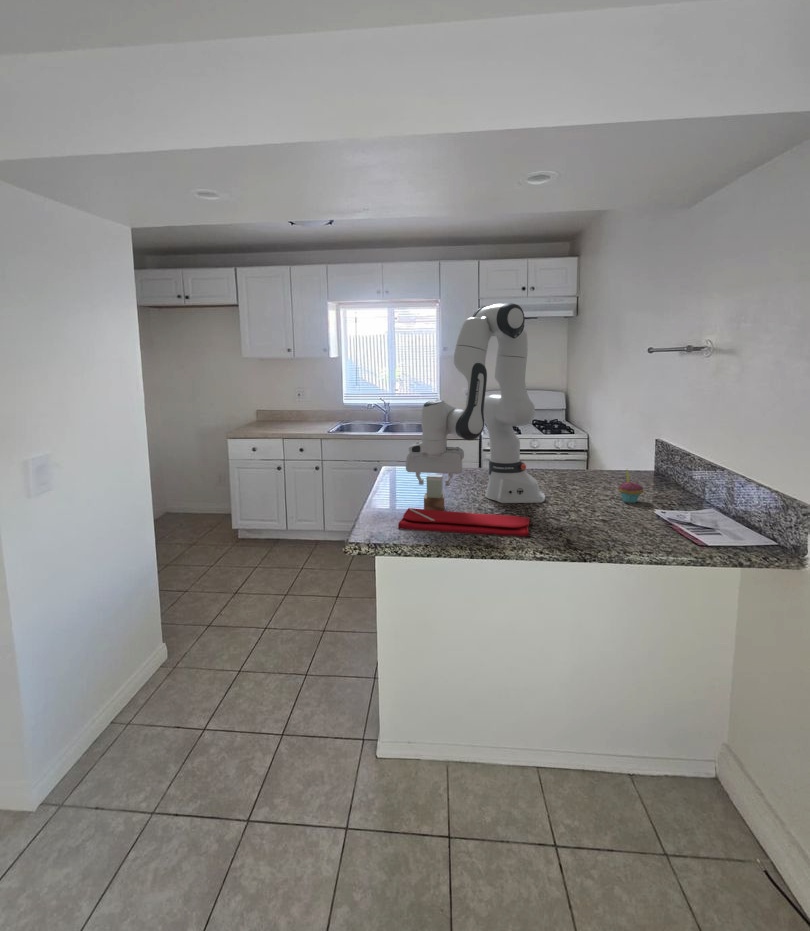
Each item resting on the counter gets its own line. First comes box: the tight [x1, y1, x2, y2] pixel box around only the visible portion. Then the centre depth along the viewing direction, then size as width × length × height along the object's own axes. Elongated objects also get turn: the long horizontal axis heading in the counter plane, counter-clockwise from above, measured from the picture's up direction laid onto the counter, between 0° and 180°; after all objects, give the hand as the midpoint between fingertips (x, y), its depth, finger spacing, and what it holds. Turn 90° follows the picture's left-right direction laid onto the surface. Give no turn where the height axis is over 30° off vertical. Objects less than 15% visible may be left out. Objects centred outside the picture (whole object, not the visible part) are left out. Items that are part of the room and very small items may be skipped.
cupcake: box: [618, 470, 644, 504], centre depth 204 cm, size 9×8×12 cm
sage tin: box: [425, 474, 444, 498], centre depth 197 cm, size 5×5×7 cm
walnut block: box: [423, 492, 445, 511], centre depth 199 cm, size 7×7×5 cm
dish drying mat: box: [397, 507, 531, 537], centre depth 180 cm, size 16×41×4 cm, turn 76°
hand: (434, 484), depth 197 cm, fingers open, 8 cm apart
